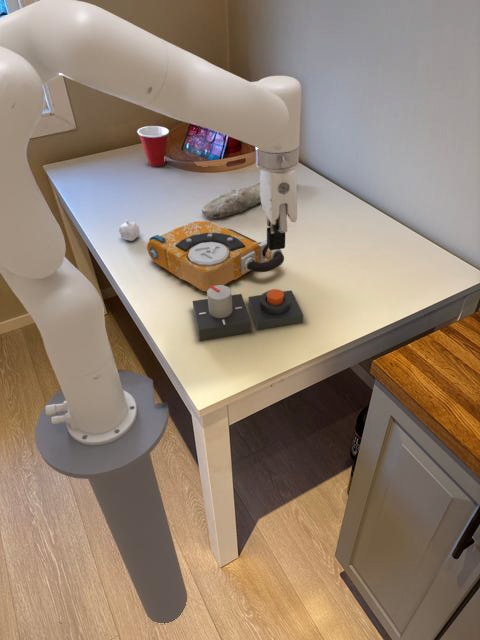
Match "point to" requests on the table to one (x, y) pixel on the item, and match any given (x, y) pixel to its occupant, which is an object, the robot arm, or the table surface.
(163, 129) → the plastic cup
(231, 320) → the timer panel
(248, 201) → the elongated rock
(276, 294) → the power button
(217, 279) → the device
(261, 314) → the button block
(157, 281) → the table surface
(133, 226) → the garlic
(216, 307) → the timer dial
